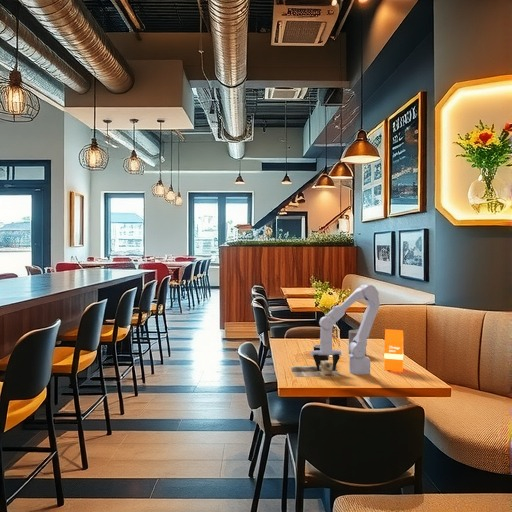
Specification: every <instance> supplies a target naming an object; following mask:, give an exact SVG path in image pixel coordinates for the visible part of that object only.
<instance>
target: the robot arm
mask: <svg viewBox="0 0 512 512" xmlns="http://www.w3.org/2000/svg"><path fill="white" fill-rule="evenodd" d="M379 293H380V292H379V291H378V289H377V288H376V286H374V285H373V284H368V283H362V284H361V285H359V287H357V288H355V290H354V291H353V292H352V293H351V294H349V296H348V297H347V298H346V299H345V300H344V301H343V302H342V303H341V304H340V305H335V306H334V305H333V306H332V307H331V310H329V312H328V313H325V314H324V316H322V317H320V319H319V321H318V324H319V326H320V334H319V342H320V343H319V345H320V350H316V351H314V350H310V356H312V357H313V359H314V362H315V366H316V367H317V371H319V366H320V364H319V359H320V358H319V356H318V355H329V356H332V366H333V371H335V368H336V369H337V364H338V362H339V360H340V358H341V357H340V356H342V351H341V350H333V328H334V325H335V324H336V323H337V322H338V321H339V320H340V319H341V318H342V317H343V316H344V315H345V314H346V310H347V309H348V308H350V307H351V306H352V305H353V304H355V303H356V302H357V301H359V300H365V302H366V304H367V307H366V309H365V312H364V314H363V317H362V320H361V323H360V325H359V327H358V333H357V335H356V336H355V337H354V339H353V341H352V342H351V343H350V344H349V343H348V352H349V351H350V352H351V354H350V355H349V369H348V370H349V374H353V375H371V360H370V357H369V356H366V355H367V345H368V342H367V341H368V337H369V335H370V332H371V329H372V327H373V325H374V321H375V319H376V317H377V313H378V311H379V309H380V306H381V303H380V297H379ZM365 354H366V355H365Z"/></svg>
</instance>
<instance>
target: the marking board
mask: <svg viewBox="0 0 512 512" xmlns="http://www.w3.org/2000/svg"><path fill="white" fill-rule="evenodd" d="M290 370H291V372H292V374H293V376H294V377H295V378H309V377H311V378H315V377H316V378H317V377H320V378H321V377H342V375H341V373H340V371H338V370H337V367H336V368H335V371H333V365H332V374H323V373H322V372H321V365H319V371H317V367H316V365H313V366H311V365H308V366H305V365H304V366H302V365H301V366H291V368H290Z"/></svg>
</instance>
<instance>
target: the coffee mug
mask: <svg viewBox="0 0 512 512" xmlns="http://www.w3.org/2000/svg"><path fill="white" fill-rule="evenodd" d="M312 346H313V347H312V348H313V351H316V350H320V344H314V345H312ZM318 356H319V358H320V359H319V365H321V361H330V360H329V359H330V355H318Z"/></svg>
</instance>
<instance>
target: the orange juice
mask: <svg viewBox="0 0 512 512" xmlns="http://www.w3.org/2000/svg"><path fill="white" fill-rule="evenodd" d="M383 356H384V363H383V364H384V366H383V367H384V368H383V369H384V371H387V370H391V371H390V372H398V371H399V373H401V372H402V373H403V370H404V330H401V329H389V328H388V329H386V328H385V330H384V355H383Z"/></svg>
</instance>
